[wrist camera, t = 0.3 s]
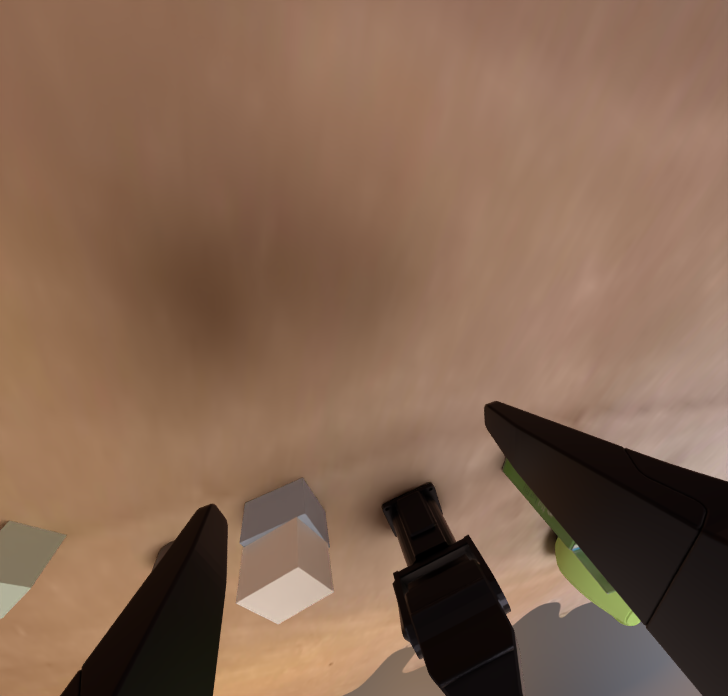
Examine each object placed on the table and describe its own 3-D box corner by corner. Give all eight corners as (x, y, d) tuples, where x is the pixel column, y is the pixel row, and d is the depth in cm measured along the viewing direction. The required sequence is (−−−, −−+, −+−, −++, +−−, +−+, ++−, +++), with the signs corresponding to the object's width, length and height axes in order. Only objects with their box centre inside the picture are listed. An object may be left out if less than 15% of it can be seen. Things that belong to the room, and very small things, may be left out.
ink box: (555, 437, 36) (688, 548, 24) (546, 461, 37) (665, 575, 26) (508, 446, 34) (625, 569, 22) (500, 470, 36) (605, 596, 24)
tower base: (324, 509, 31) (329, 547, 28) (273, 533, 31) (271, 574, 27) (302, 476, 28) (305, 513, 25) (245, 501, 28) (239, 542, 24)
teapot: (564, 484, 41) (672, 589, 30) (644, 461, 44) (771, 549, 33) (532, 569, 51) (604, 673, 39) (599, 545, 54) (685, 636, 42)
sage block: (67, 533, 24) (31, 587, 21) (41, 561, 25) (1, 618, 21) (10, 519, 23) (-41, 575, 19) (-17, 549, 23) (-71, 609, 20)
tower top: (327, 543, 27) (334, 592, 24) (279, 571, 27) (278, 624, 24) (296, 516, 25) (298, 567, 21) (242, 547, 25) (235, 603, 21)
